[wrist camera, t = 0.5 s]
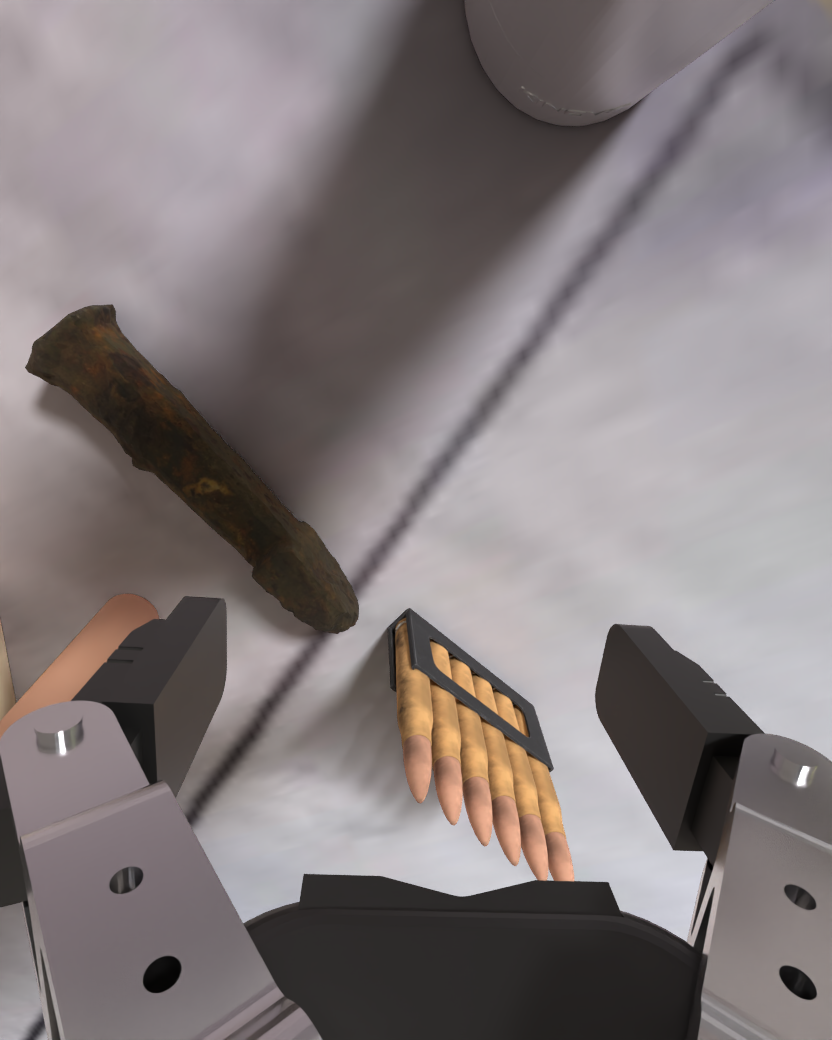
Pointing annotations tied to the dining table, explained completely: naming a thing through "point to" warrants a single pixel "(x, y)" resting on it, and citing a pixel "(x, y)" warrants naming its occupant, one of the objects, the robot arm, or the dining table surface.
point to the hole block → (5, 680)
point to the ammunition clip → (475, 747)
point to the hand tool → (193, 463)
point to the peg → (83, 655)
